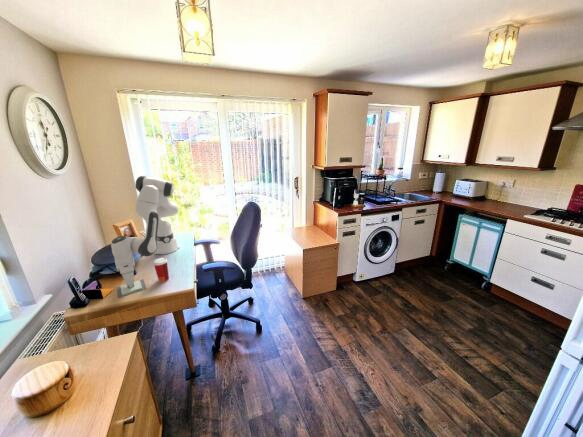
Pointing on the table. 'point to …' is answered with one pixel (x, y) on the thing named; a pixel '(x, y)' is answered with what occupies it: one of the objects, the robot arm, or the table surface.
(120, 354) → the table surface
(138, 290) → the mat
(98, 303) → the table surface
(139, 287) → the lid
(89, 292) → the miniature room corner
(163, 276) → the paper cup
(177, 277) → the table surface
